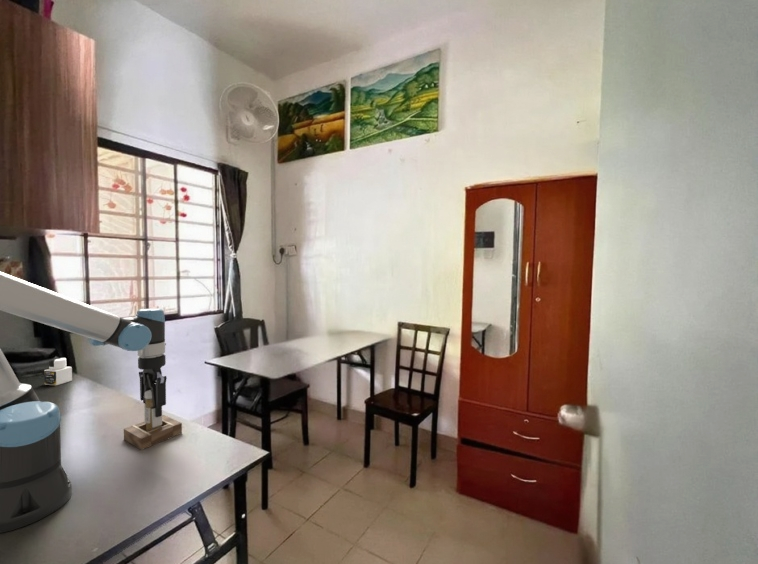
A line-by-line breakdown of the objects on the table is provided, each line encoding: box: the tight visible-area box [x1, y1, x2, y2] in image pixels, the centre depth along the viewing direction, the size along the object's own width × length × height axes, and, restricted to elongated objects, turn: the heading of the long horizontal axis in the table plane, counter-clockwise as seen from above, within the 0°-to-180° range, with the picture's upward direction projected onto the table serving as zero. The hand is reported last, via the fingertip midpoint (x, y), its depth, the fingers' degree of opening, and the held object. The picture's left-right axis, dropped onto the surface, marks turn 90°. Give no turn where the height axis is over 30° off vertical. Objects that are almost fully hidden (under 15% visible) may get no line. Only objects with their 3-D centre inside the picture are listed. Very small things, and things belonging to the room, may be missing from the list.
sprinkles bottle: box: [144, 390, 162, 432], centre depth 108 cm, size 5×5×14 cm
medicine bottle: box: [43, 357, 73, 386], centre depth 159 cm, size 7×7×12 cm
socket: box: [123, 414, 183, 451], centre depth 108 cm, size 12×12×4 cm
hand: (153, 423), depth 108 cm, fingers closed on sprinkles bottle, 4 cm apart
